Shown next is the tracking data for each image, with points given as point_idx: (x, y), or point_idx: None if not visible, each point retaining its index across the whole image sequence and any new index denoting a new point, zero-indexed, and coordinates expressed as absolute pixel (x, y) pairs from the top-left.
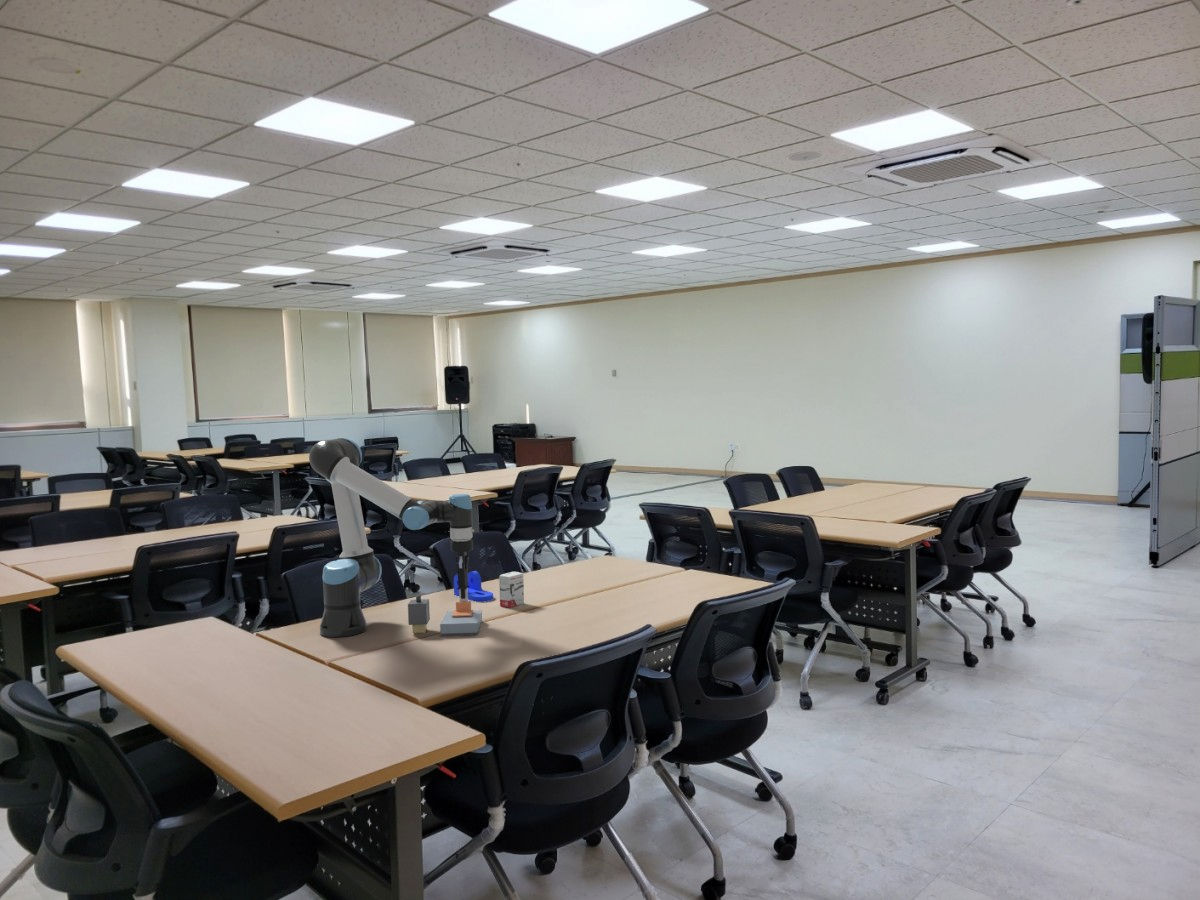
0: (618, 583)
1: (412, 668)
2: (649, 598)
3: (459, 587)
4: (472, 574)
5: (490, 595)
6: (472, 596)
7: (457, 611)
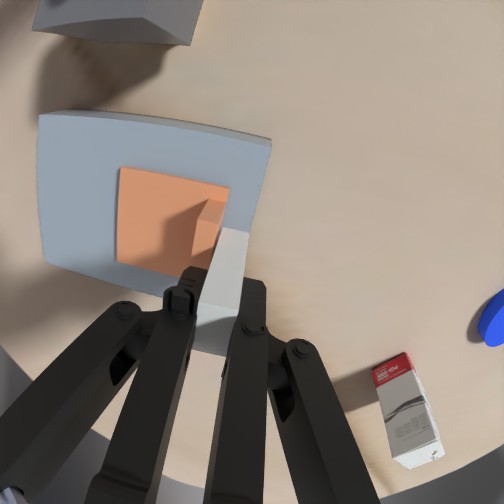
0: (394, 473)
1: None
2: (286, 488)
3: (111, 312)
4: None
5: (485, 341)
6: None
7: (198, 205)
